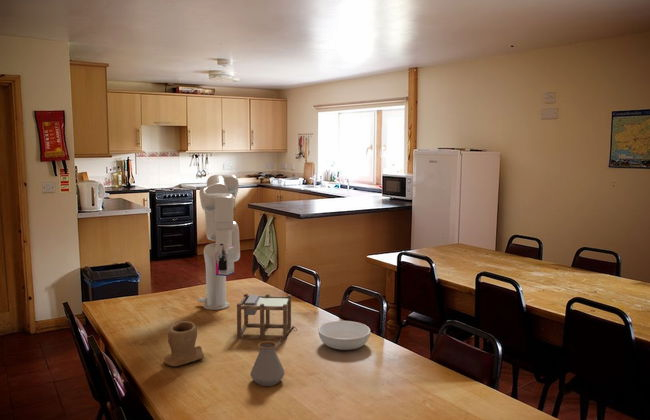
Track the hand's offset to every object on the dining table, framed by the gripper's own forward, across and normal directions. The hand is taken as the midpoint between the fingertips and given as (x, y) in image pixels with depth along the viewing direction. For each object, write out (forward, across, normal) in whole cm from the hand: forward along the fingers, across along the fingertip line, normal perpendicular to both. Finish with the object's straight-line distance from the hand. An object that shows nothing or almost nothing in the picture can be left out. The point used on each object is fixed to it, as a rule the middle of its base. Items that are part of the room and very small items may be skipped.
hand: (224, 267), depth 221 cm
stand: (+29, -3, +16) cm, 33 cm away
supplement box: (+3, 0, 0) cm, 3 cm away
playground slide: (+19, -3, +17) cm, 26 cm away
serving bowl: (+29, +10, +50) cm, 59 cm away
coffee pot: (+28, +40, +27) cm, 56 cm away
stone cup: (+29, +30, -8) cm, 42 cm away
